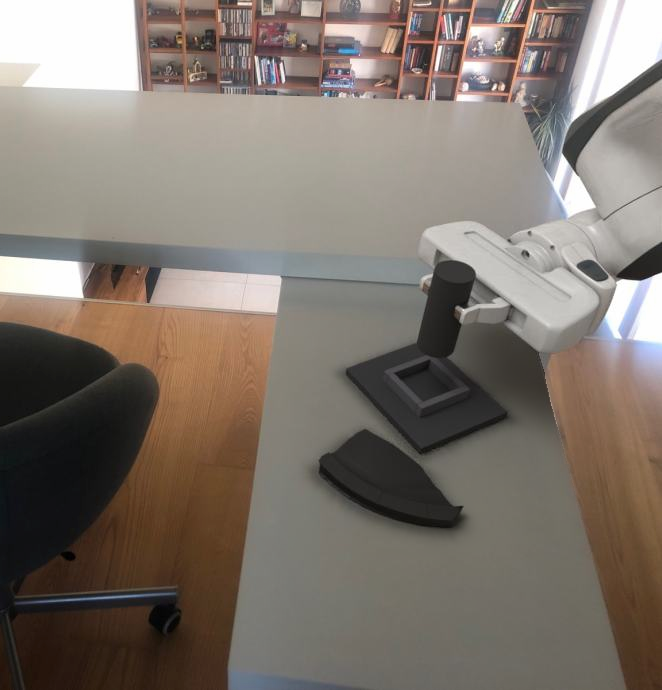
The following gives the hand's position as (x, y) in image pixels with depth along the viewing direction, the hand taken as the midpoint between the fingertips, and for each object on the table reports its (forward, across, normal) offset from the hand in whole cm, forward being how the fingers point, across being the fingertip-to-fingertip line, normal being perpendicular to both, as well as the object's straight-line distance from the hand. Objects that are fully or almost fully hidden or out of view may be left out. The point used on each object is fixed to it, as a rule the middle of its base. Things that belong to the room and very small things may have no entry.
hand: (441, 301), depth 71 cm
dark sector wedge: (+11, +9, +14) cm, 20 cm away
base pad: (-1, 0, +14) cm, 14 cm away
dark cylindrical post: (-1, 0, +6) cm, 7 cm away
